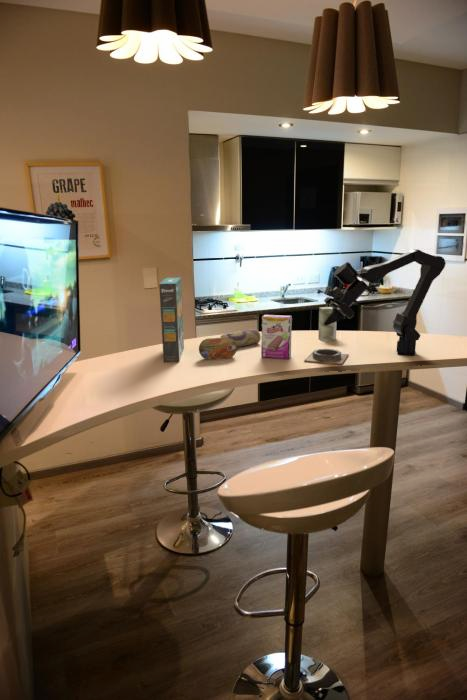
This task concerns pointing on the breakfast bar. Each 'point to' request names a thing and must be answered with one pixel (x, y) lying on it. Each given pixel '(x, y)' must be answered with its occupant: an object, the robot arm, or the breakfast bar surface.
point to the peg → (325, 330)
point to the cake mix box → (171, 319)
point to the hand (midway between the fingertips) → (322, 323)
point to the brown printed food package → (217, 348)
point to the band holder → (326, 357)
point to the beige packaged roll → (244, 337)
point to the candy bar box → (276, 336)
